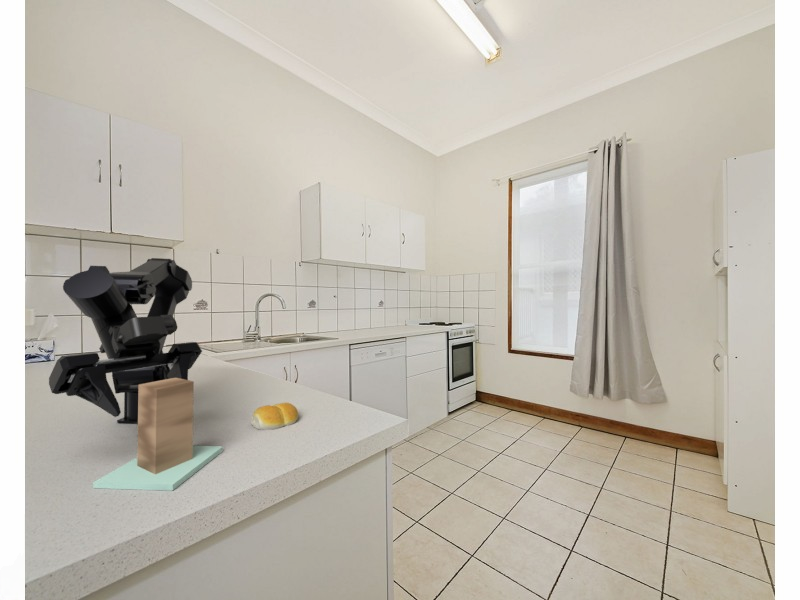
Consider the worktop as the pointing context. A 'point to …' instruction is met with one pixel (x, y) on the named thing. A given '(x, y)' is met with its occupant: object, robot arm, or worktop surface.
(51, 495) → the worktop surface
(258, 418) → the bread roll
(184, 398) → the walnut block
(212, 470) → the worktop surface
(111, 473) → the green board
